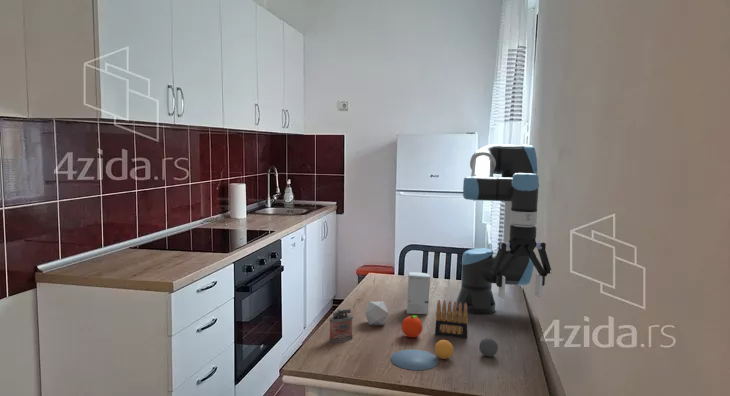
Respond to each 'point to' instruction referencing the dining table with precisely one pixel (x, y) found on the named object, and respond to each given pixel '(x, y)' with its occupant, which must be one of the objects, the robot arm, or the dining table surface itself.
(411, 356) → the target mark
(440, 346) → the orange ball
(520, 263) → the robot arm
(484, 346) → the dark grey sphere
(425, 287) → the skincare box
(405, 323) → the clementine
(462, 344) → the dining table surface
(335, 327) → the lighter
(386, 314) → the die
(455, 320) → the ammunition clip
